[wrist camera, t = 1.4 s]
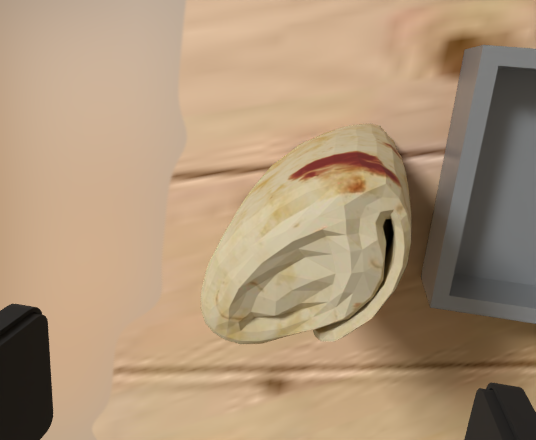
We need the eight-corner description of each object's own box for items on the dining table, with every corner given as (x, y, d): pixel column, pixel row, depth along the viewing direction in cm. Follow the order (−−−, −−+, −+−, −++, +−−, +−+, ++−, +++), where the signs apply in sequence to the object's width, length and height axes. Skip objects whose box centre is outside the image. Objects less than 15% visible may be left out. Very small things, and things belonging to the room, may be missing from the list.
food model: (358, 91, 33) (355, 112, 14) (416, 168, 34) (487, 283, 15) (251, 177, 36) (133, 287, 17) (307, 245, 37) (251, 422, 18)
